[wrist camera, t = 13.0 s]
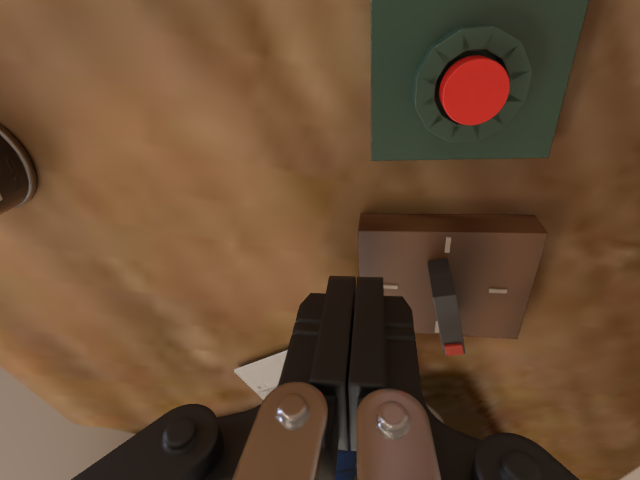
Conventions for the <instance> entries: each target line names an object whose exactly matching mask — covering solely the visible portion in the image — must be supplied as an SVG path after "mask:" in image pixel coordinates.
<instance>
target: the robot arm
mask: <svg viewBox="0 0 640 480" xmlns="http://www.w3.org/2000/svg"><path fill="white" fill-rule="evenodd" d="M36 187H37V178H36V173H35V169H34V166H33V164H32V162H31V160H30V158H29V156H28V154H27V153H26V151H25V149H24V148H23V147H22V145H21V144H20V143H19V142H18V140H17V139H16V138H15V137H14V136H13V135H12V134H11V133H10V132H9V131H8V130H6V129H5V128H4V127H3V126H1V125H0V215H1V214H3V213H5V212H7V211H8V210H10V209H12V208H16V207H18V206H20V205H22V204H24V203H26V202H28V201H29V200H30V199H31V198H32V197H33V196H34V194H35V191H36ZM349 428H350V442H351V451H357V480H579V479H578V478H577V477H576V476H574V475H573V474H572V473H571V472H570V471H569V470H568V469H566V468H565V467H564V466H563V465H562V464H561V463H560V462H558V461H557V460H556V459H555V458H554V457H553V456H552V455H550V454H549V453H548V452H547V451H546V450H545V449H543V448H542V447H541V446H540V445H538V444H537V443H535V442H533V441H532V440H530V439H528V438H525V437H523V436H520V435H517V434H512V433H496V434H493V435H490V436H488V437H486V438H485V439H484V440H483V441H482V440H479V439H477V438H474V437H472V436H469V435H466V434H464V433H461V432H459V431H456V430H454V429H452V428H450V427H448V426H447V425H445V424H443V423H442V422H441V421H440V420H438V419H437V418H436V417H435V416H434V415H433V414H432V413H431V412H430V410H429V409H428V407H427V406H426V404H425V402H424V399H423V397H422V392H421V384H420V375H419V367H418V358H417V349H416V341H415V331H414V322H413V313H412V309H411V308H410V306H409V305H408V303H407V302H406V300H405V299H404V298H403V296H384V283H383V277H357V286H356V277H353V276H330V277H329V281H328V286H327V291H326V294H321V293H310V294H309V295H308V297H307V298H306V299H305V300H304V301H303V302H302V303H301V305H300V307H299V310H298V314H297V318H296V322H295V325H294V329H293V335H292V336H291V340H290V343H289V347H288V351H287V354H286V358H285V362H284V365H283V369H282V372H281V376H280V380H279V383H278V385H277V387H276V388H275V389H274V390H272V391H271V392H270V393H269V394H268V395H267V396H266V397H265V399H264V400H263V402H262V404H260V405H259V406H257V407H255V408H253V409H251V410H248V411H244V412H240V413H236V414H232V415H227V416H223V417H219V418H216V416H215V414H214V412H213V411H212V410H211V409H209V408H208V407H206V406H203V405H200V404H187V405H183V406H180V407H177V408H175V409H173V410H171V411H169V412H168V413H166V414H164V415H163V416H162V417H160V418H159V419H157V420H156V421H154V422H153V423H152V424H150V425H149V426H147V427H146V428H144V429H143V430H142V431H140V432H139V433H137V434H136V435H134V436H133V437H132V438H130V439H129V440H127V441H126V442H124V443H123V444H121V445H120V446H119V447H117V448H116V449H114V450H113V451H112V452H110V453H109V454H107V455H106V456H104V457H103V458H101V459H100V460H99V461H97V462H96V463H94V464H93V465H91V466H90V467H89V468H87V469H86V470H85V471H83V472H81V473H80V474H78V475H77V476H76V477H74V478H73V479H71V480H335V475H336V465H337V455H338V450H347V451H348V442H349Z"/></svg>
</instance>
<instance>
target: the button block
mask: <svg viewBox="0 0 640 480" xmlns="http://www.w3.org/2000/svg"><path fill="white" fill-rule="evenodd" d="M588 2H589V0H371V161H390V160H448V159H505V158H548V157H549V153H550V149H551V145H552V141H553V137H554V133H555V130H556V126H557V122H558V118H559V114H560V110H561V106H562V102H563V99H564V95H565V91H566V87H567V83H568V79H569V75H570V72H571V68H572V64H573V60H574V56H575V52H576V48H577V45H578V41H579V37H580V33H581V29H582V25H583V21H584V18H585V14H586V10H587V6H588ZM472 55H481V56H485V57H488V58H490V59H492V60H494V61H496V62H498V63H499V64H501V65H502V66H503V67H504V69H505V70H506V72H507V74H508V77H509V81H510V90H509V95H508V98H507V101H506V102H505V104H504V106H503V107H502V109H501V110H500V111H499V112H498V113H497V114H496V115H495V116H494V117H493V118H491V119H490V120H488V121H486V122H484V123H481V124H477V125H463V124H459V123H457V122H455V121H454V120H452V119H451V118H450V117H449V116H448V115H447V113H446V111H445V110H444V108H443V106H442V104H441V102H440V98H439V88H440V83H441V80H442V78H443V76H444V74H445V73H446V71H447V70H448V69H449V68H450V67H451V66H452V65H453V64H454V63H455V62H457V61H458V60H460V59H462V58H464V57H467V56H472Z"/></svg>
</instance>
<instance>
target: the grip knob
mask: <svg viewBox="0 0 640 480" xmlns="http://www.w3.org/2000/svg"><path fill="white" fill-rule="evenodd" d="M427 265H428V271H429V277H430V284H431V290H432V296H433V302H434V307H435V312H436V317H437V322H438V327H439V332H440V337H441V342H442V347H443V352H444V355H446V356H449V355H462V354H464V353H465V348H464V341H463V335H462V328H461V322H460V316H459V309H458V303H457V296H456V292H455V288H454V283H453V279H452V275H451V271H450V267H449V263H448V259H441V260H434V261H428V262H427Z"/></svg>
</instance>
